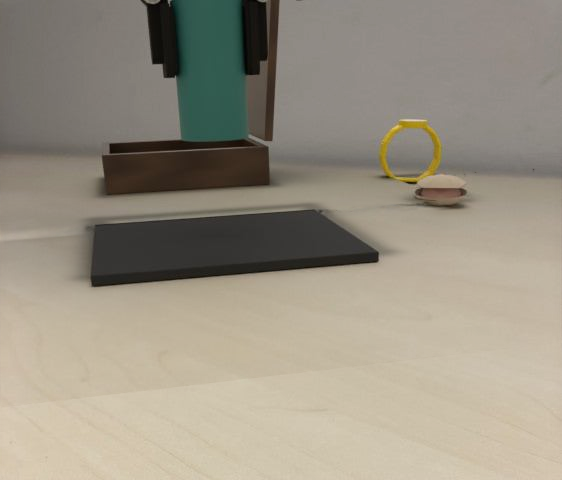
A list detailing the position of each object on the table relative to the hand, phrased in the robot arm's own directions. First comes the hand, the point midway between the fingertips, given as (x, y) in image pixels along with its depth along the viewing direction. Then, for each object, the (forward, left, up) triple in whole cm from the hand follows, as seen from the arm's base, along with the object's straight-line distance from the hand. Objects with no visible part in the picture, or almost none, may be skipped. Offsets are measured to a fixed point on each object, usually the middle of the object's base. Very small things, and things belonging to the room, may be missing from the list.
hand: (210, 72), depth 44 cm
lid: (+8, +26, +2) cm, 27 cm away
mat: (0, 0, -11) cm, 11 cm away
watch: (+22, +20, -11) cm, 32 cm away
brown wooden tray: (0, +26, -11) cm, 28 cm away
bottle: (0, 0, -4) cm, 4 cm away
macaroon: (+20, +8, -11) cm, 24 cm away
